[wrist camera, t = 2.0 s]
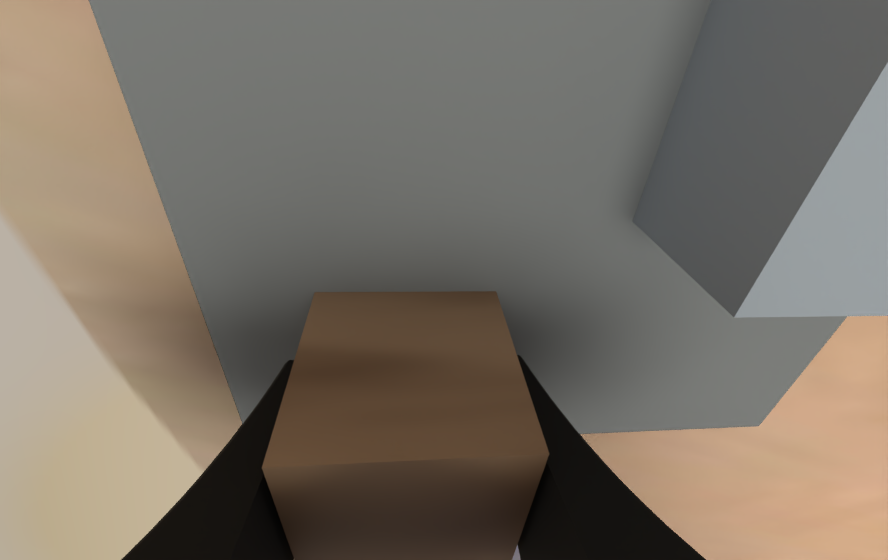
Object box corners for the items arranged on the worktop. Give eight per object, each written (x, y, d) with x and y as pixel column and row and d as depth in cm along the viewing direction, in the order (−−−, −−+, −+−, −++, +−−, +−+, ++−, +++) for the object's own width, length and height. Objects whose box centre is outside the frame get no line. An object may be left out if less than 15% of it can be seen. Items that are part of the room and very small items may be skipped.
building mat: (751, 417, 15) (758, 426, 15) (255, 437, 13) (251, 448, 13) (1186, -148, 7) (1226, -155, 6) (-3, -308, 5) (-31, -331, 5)
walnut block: (477, 405, 13) (508, 569, 9) (333, 410, 12) (303, 585, 9) (496, 291, 10) (549, 454, 7) (315, 292, 10) (261, 467, 6)
